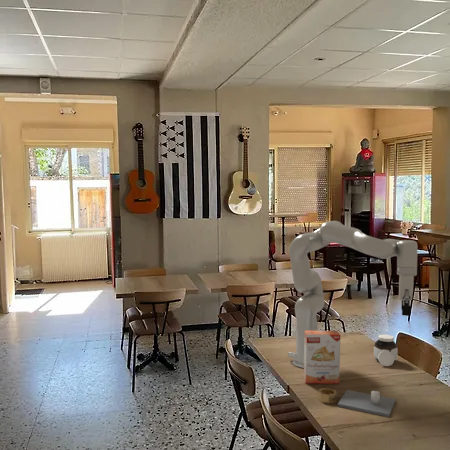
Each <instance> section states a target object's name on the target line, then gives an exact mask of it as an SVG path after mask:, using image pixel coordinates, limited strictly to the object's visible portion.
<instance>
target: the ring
mask: <svg viewBox="0 0 450 450" xmlns="http://www.w3.org/2000/svg"><path fill="white" fill-rule="evenodd" d="M317 400H318V401H319V402H321V403H323V404H334V403H336V402H337V400H338V391H336V390H335V389H333V388H329V387H325V388H323V387H322V388H319V389H318V391H317Z"/></svg>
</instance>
